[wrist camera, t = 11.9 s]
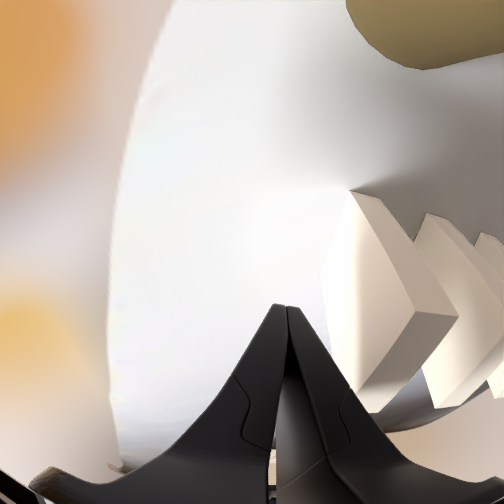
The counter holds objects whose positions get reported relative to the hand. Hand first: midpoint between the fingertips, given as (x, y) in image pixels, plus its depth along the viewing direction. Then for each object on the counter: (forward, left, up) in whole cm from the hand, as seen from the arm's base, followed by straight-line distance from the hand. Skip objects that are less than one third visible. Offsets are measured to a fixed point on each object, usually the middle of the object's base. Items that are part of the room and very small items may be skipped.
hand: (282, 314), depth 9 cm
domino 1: (0, -3, -6) cm, 7 cm away
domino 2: (0, -8, -6) cm, 10 cm away
